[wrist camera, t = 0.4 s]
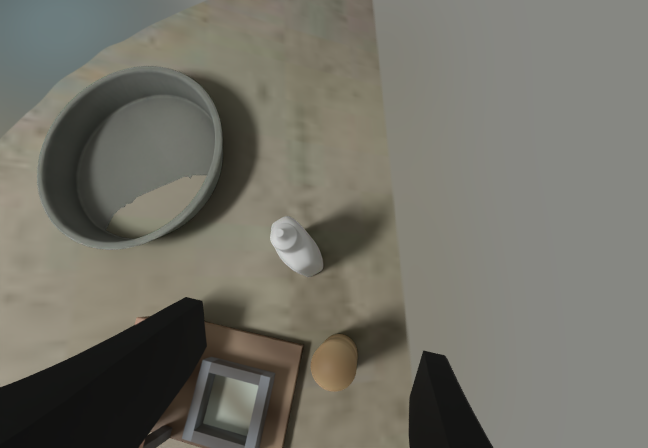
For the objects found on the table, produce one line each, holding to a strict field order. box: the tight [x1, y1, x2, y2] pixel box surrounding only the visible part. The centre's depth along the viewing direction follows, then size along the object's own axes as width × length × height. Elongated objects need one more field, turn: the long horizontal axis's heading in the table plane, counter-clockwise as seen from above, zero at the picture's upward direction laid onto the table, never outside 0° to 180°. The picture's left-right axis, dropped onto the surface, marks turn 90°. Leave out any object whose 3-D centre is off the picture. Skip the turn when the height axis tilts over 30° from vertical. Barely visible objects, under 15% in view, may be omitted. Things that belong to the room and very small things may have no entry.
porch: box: [135, 316, 304, 448], centre depth 32 cm, size 12×16×6 cm
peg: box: [311, 334, 358, 391], centre depth 31 cm, size 4×4×7 cm
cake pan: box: [37, 66, 223, 250], centre depth 41 cm, size 25×25×4 cm
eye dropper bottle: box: [270, 216, 323, 277], centre depth 31 cm, size 4×6×12 cm
